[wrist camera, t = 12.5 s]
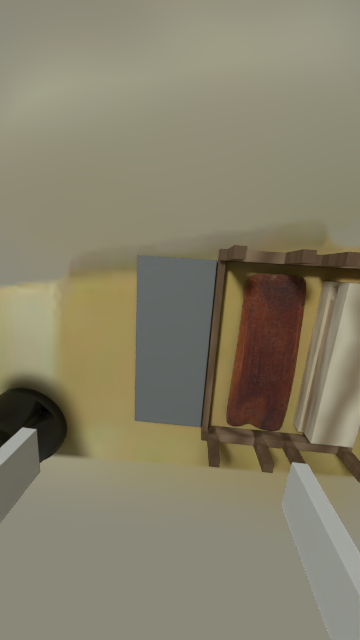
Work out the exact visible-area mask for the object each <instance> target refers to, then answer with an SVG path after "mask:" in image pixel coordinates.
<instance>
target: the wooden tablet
mask: <svg viewBox="0 0 360 640" xmlns="http://www.w3.org/2000/svg"><path fill="white" fill-rule="evenodd" d="M305 295H306V283H305V279H304V278H302V277H297V276H287V275H281V274H276V275H272V274H255V275H252V276H251V277H250V278H249V281H248V283H247V286H246V290H245V294H244V300H243V306H242V314H241V322H240V328H239V336H238V343H237V350H236V356H235V362H234V368H233V374H232V381H231V387H230V394H229V399H228V406H227V423H228V424H229V425H232V426H240V425H243V424H247V423H248V424H252V425H253V426H255V427H257V428H260V429H263V430H268V431H276V430H279V429H280V428H281V426H282V423H283V419H284V417H285V413H286V409H287V405H288V401H289V396H290V392H291V386H292V382H293V377H294V372H295V365H296V358H297V352H298V346H299V339H300V332H301V325H302V318H303V312H304V308H303V306H304V305H305Z"/></svg>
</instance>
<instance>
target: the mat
mask: <svg viewBox="0 0 360 640" xmlns="http://www.w3.org/2000/svg"><path fill="white" fill-rule="evenodd" d="M216 265H217V260H203V259H187V258H170V257H154V256H138V255H137V315H136V377H135V421H144V422H155V423H165V424H175V425H185V426H195V427H201V417H202V407H203V396H204V386H205V376H206V366H207V356H208V346H209V336H210V325H211V315H212V305H213V295H214V285H215V275H216Z"/></svg>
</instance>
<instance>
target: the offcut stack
mask: <svg viewBox="0 0 360 640" xmlns="http://www.w3.org/2000/svg"><path fill="white" fill-rule="evenodd" d="M293 425H294V426H295V428H296V429H297V431H299V432H303V433H304V434H305V436H306V437H307V438H308V440H309V441H310V443H313V444H323V445H333V446H343V447H353V446H354V443H355V439H356V436H357V433H358V429H359V426H360V283H346V282H331V281H324V282H323V287H322V291H321V296H320V301H319V305H318V310H317V315H316V319H315V324H314V329H313V333H312V338H311V343H310V347H309V352H308V357H307V361H306V366H305V371H304V375H303V380H302V385H301V389H300V394H299V399H298V403H297V408H296V413H295V417H294V422H293Z"/></svg>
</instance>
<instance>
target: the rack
mask: <svg viewBox="0 0 360 640" xmlns="http://www.w3.org/2000/svg"><path fill="white" fill-rule="evenodd" d="M316 254H317V250H305V249H303V250H298V251H293V252H288V253H280V252H263V251H247V246H237V245H234V246H233V247H231V248H229V249H220V250H219V257H218V267H217V277H216V287H215V297H214V307H213V317H212V327H211V337H210V347H209V357H208V367H207V377H206V387H205V397H204V407H203V417H202V427H201V440H205V441H207V445H208V458H209V466H212V467H219V464H220V455H219V448H218V442H224V443H234V444H244V445H253V446H254V449H255V452H256V455H257V458H258V460H259V463H260V466H261V469H262V472H268V473H273V468H274V463H273V461H272V458H271V456H270V454H269V451H268V449H267V447H274V448H283V450H284V452H285V454H286V456H287V458H288V460H289V462H290V464H292V462H295V463H302V464H306V463H305V461H304V460H303V458H302V456H301V455H300V453H299V451H298V450H303V451H313V452H323V453H333V454H337V455H338V456H339V458H340V459H341V460H342V461H343V463H344V464H345V465H346V467H347V468H348V469H349V470H350V472H351V473H352V474H353V476H354V477H355V478H356V479H357V481H358V482H360V461H359V460H358V459H357V457H356V456H355V455H354V454H353V453H352V452H351V451H352V447H343V446H333V445H323V444H313V443H310V441H309V440H308V438H307V437H306V436H305V435H300V434H290V433H280V432H270V431H260V430H249V429H239V428H229V427H219V426H209V425H208V422H209V413H210V404H211V394H212V385H213V376H214V367H215V357H216V348H217V339H218V330H219V320H220V311H221V302H222V293H223V283H224V274H225V265H226V261H232V262H248V263H264V264H280V265H297V266H313V267H329V268H345V269H360V253H357V252H344V253H336V254H327V255H316Z"/></svg>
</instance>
